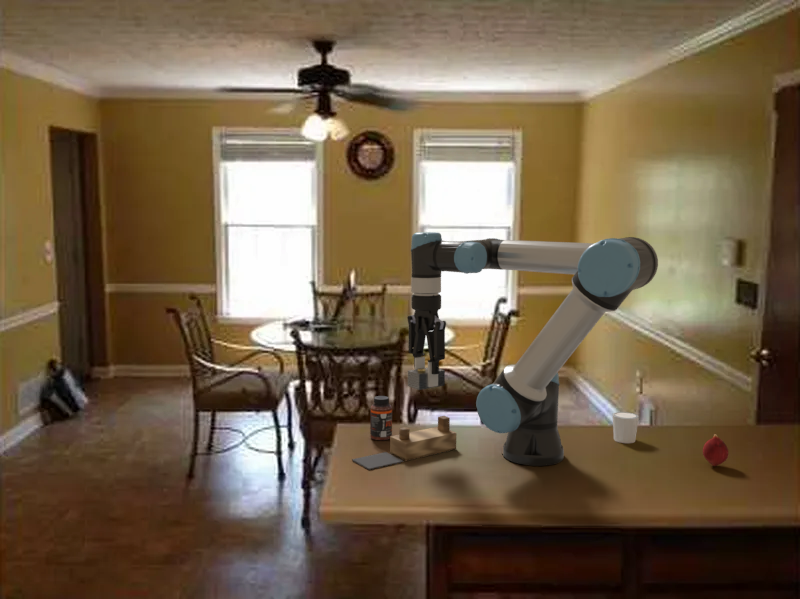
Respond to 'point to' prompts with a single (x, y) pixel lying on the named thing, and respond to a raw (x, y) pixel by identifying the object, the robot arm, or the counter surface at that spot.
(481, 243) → the robot arm
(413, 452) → the body
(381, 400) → the supplement bottle
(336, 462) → the counter surface
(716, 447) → the onion
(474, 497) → the counter surface
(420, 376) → the lever cap
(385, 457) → the mat
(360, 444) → the counter surface
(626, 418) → the white cup
